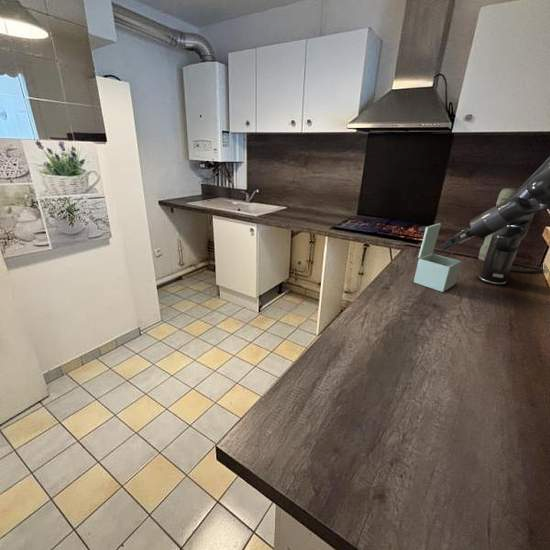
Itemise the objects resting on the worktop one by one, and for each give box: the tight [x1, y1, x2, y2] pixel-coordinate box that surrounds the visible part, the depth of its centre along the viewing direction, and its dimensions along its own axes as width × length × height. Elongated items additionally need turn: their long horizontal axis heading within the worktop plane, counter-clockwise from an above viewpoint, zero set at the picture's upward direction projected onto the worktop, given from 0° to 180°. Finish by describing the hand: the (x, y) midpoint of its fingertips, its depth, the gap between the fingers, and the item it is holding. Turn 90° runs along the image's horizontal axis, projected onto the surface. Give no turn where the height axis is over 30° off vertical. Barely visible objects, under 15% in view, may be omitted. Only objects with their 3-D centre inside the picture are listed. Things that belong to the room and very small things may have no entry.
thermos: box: [477, 187, 519, 262], centre depth 141 cm, size 9×12×35 cm
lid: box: [417, 222, 442, 259], centre depth 118 cm, size 12×12×5 cm
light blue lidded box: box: [413, 252, 462, 293], centre depth 117 cm, size 12×12×10 cm
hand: (446, 246), depth 111 cm, fingers open, 8 cm apart
